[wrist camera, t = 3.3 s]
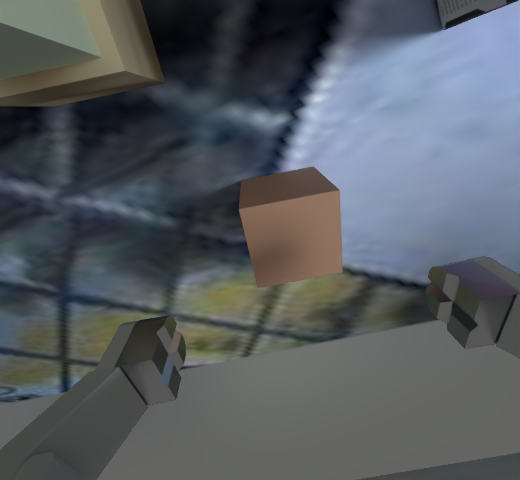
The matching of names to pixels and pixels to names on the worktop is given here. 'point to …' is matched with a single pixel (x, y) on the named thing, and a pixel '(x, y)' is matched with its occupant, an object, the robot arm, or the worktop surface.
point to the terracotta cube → (291, 226)
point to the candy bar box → (465, 10)
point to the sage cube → (43, 36)
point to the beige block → (95, 61)
